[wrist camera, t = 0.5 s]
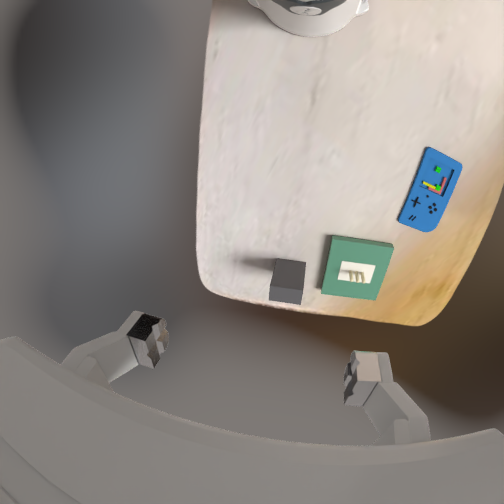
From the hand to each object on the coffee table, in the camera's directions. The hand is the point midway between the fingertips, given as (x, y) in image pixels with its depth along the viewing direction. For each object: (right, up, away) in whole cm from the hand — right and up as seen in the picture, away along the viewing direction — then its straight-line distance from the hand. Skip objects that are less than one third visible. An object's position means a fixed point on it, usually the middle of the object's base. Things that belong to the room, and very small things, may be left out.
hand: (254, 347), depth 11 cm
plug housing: (+8, +1, +44) cm, 45 cm away
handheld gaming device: (+32, +15, +29) cm, 46 cm away
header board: (+20, +1, +41) cm, 45 cm away
